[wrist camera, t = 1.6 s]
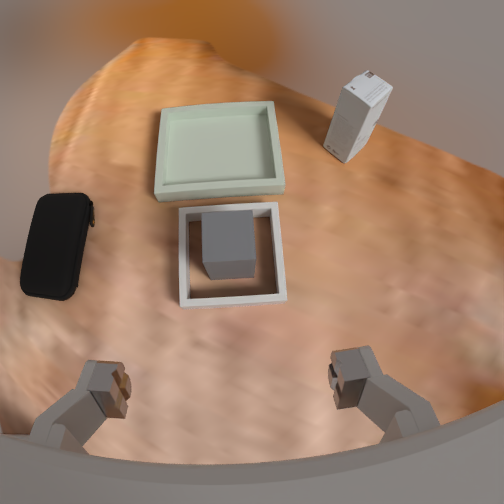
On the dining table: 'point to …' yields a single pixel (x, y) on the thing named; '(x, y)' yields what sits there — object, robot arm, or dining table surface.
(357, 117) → the skincare box
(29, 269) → the carrying case or bag
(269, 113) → the tray
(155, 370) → the dining table surface
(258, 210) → the frame
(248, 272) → the matte grey square block
